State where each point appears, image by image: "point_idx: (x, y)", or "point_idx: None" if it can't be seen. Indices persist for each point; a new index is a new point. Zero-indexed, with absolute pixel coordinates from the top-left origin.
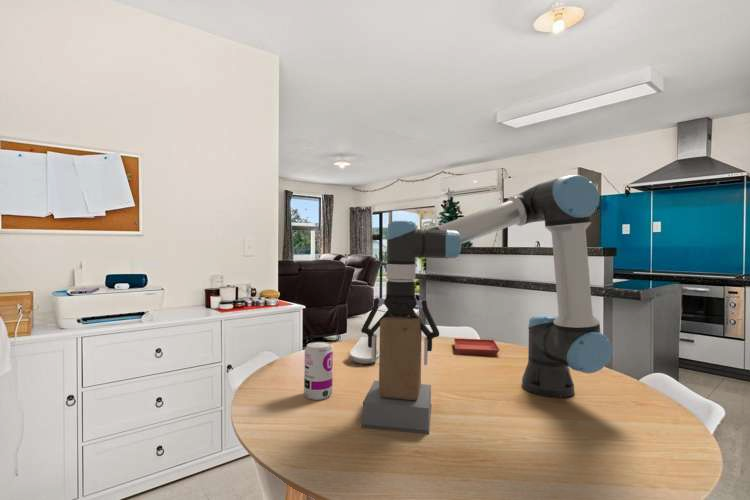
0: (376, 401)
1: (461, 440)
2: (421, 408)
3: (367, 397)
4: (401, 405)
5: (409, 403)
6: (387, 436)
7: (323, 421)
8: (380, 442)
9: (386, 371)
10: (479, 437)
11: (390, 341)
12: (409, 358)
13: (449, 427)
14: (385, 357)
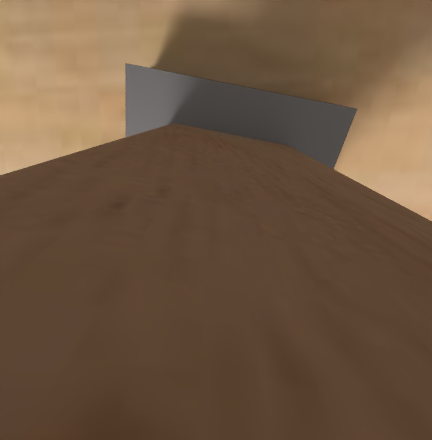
0: (306, 120)
1: (60, 33)
2: (152, 69)
3: (331, 155)
4: (222, 85)
5: (193, 107)
6: (261, 50)
7: (418, 138)
8: (285, 6)
9: (301, 160)
10: (14, 57)
11: (399, 238)
12: (161, 147)
13: (96, 117)
14: (345, 182)
